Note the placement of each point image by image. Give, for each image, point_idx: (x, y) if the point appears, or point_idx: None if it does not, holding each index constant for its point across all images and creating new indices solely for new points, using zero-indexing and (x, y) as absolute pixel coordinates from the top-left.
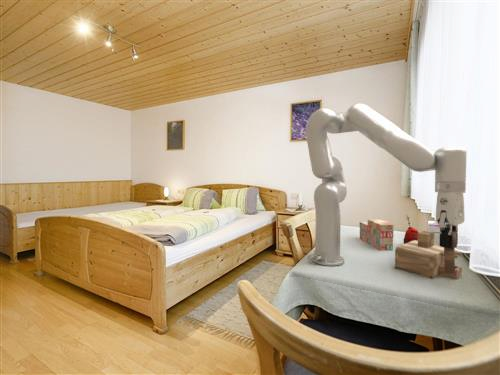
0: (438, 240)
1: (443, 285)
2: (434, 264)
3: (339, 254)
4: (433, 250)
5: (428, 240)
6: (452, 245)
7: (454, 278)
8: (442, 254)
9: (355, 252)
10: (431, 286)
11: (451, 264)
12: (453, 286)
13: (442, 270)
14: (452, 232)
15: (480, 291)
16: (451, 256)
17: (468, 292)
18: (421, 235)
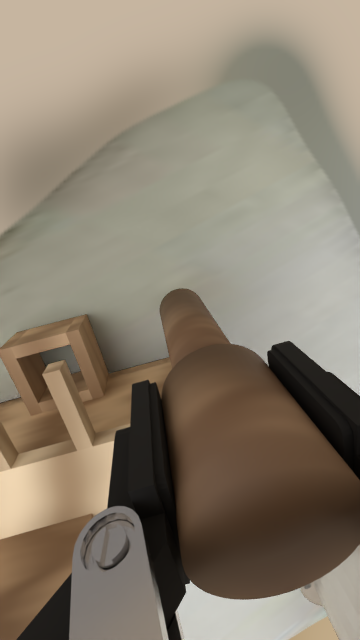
0: None
1: (206, 296)
2: None
3: (354, 574)
4: (100, 478)
5: (70, 572)
6: (284, 353)
7: (89, 322)
8: (90, 429)
9: (191, 603)
10: (258, 308)
11: (206, 310)
12: (178, 274)
13: (101, 374)
14: (324, 484)
15: (123, 194)
16: (219, 329)
17: (185, 211)
18: None
